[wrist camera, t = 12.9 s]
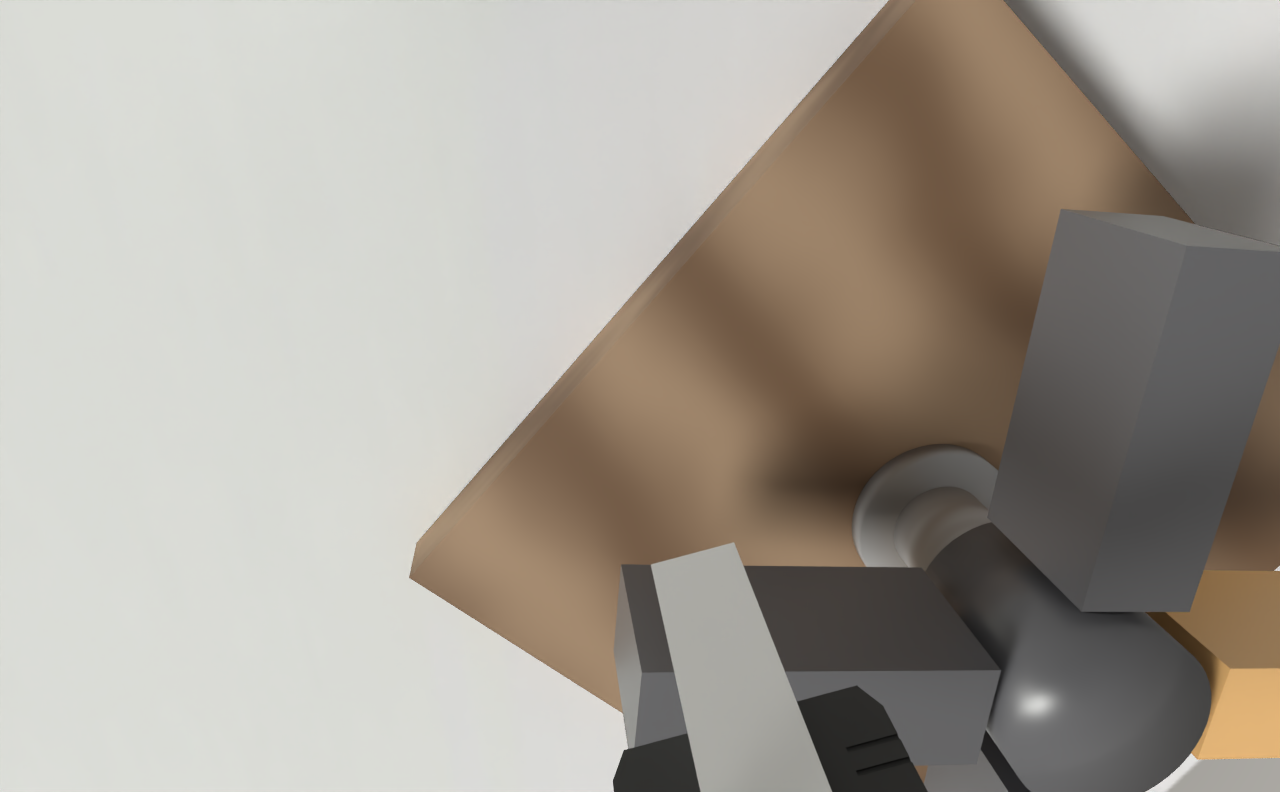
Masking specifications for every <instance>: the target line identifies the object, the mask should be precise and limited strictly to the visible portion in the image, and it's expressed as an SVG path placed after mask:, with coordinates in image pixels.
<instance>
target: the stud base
mask: <svg viewBox="0 0 1280 792" xmlns="http://www.w3.org/2000/svg"><path fill="white" fill-rule="evenodd" d="M1061 209H1070V210H1084V211H1098V212H1113V213H1127V214H1141V215H1155V216H1165V217H1169V218H1173V219H1176V220H1180V221H1184V222H1188V223H1192V224H1195V223H1194V222H1193V221H1192V220H1191V219H1190V218H1189V216H1188V215H1187V214H1186V213H1185V212H1184V211H1183V209H1182V208H1181V207H1180V206H1179V205H1178V204H1177V202H1176V201H1175V200H1174V199H1173V198H1172V197H1171V195H1170V194H1169V193H1168V192H1167V191H1166V190H1165V188H1164V187H1163V186H1162V185H1161V184H1160V183H1159V181H1158V180H1157V179H1156V178H1155V177H1154V176H1153V174H1152V173H1151V172H1150V171H1149V170H1148V168H1147V167H1146V166H1145V165H1144V164H1143V163H1142V161H1141V160H1140V159H1139V158H1138V157H1137V156H1136V154H1135V153H1134V152H1133V151H1132V150H1131V149H1130V147H1129V146H1128V145H1127V144H1126V143H1125V142H1124V140H1123V139H1122V138H1121V137H1120V136H1119V135H1118V133H1117V132H1116V131H1115V130H1114V129H1113V128H1112V126H1111V125H1110V124H1109V123H1108V122H1107V121H1106V119H1105V118H1104V117H1103V116H1102V115H1101V114H1100V112H1099V111H1098V110H1097V109H1096V108H1095V107H1094V105H1093V104H1092V103H1091V102H1090V101H1089V100H1088V98H1087V97H1086V96H1085V95H1084V94H1083V93H1082V91H1081V90H1080V89H1079V88H1078V87H1077V86H1076V84H1075V83H1074V82H1073V81H1072V80H1071V79H1070V77H1069V76H1068V75H1067V74H1066V73H1065V72H1064V70H1063V69H1062V68H1061V67H1060V66H1059V65H1058V63H1057V62H1056V61H1055V60H1054V59H1053V58H1052V56H1051V55H1050V54H1049V53H1048V52H1047V51H1046V49H1045V48H1044V47H1043V46H1042V45H1041V44H1040V42H1039V41H1038V40H1037V39H1036V38H1035V37H1034V35H1033V34H1032V33H1031V32H1030V31H1029V30H1028V28H1027V27H1026V26H1025V25H1024V24H1023V23H1022V21H1021V20H1020V19H1019V18H1018V17H1017V16H1016V14H1015V13H1014V12H1013V11H1012V10H1011V9H1010V7H1009V6H1008V5H1007V4H1006V3H1005V2H1004V0H889V1H888V2H887V3H886V5H885V6H884V7H883V8H882V9H881V10H880V11H879V13H878V14H877V15H876V16H875V17H874V18H873V19H872V21H871V22H870V23H869V24H868V25H867V26H866V28H865V29H864V30H863V31H862V32H861V33H860V34H859V36H858V37H857V38H856V39H855V40H854V41H853V42H852V44H851V45H850V46H849V47H848V48H847V49H846V51H845V52H844V53H843V54H842V55H841V56H840V57H839V59H838V60H837V61H836V62H835V63H834V64H833V65H832V67H831V68H830V69H829V70H828V71H827V72H826V73H825V75H824V76H823V77H822V78H821V79H820V80H819V82H818V83H817V84H816V85H815V86H814V87H813V88H812V90H811V91H810V92H809V93H808V94H807V95H806V96H805V98H804V99H803V100H802V101H801V102H800V103H799V104H798V106H797V107H796V108H795V109H794V110H793V111H792V113H791V114H790V115H789V116H788V117H787V118H786V119H785V121H784V122H783V123H782V124H781V125H780V126H779V127H778V129H777V130H776V131H775V132H774V133H773V134H772V135H771V137H770V138H769V139H768V140H767V141H766V142H765V144H764V145H763V146H762V147H761V148H760V149H759V150H758V152H757V153H756V154H755V155H754V156H753V157H752V158H751V160H750V161H749V162H748V163H747V164H746V165H745V167H744V168H743V169H742V170H741V171H740V172H739V173H738V175H737V176H736V177H735V178H734V179H733V180H732V181H731V183H730V184H729V185H728V186H727V187H726V188H725V189H724V191H723V192H722V193H721V194H720V195H719V196H718V198H717V199H716V200H715V201H714V202H713V203H712V204H711V206H710V207H709V208H708V209H707V210H706V211H705V212H704V214H703V215H702V216H701V217H700V218H699V219H698V220H697V222H696V223H695V224H694V225H693V226H692V227H691V229H690V230H689V231H688V232H687V233H686V234H685V235H684V237H683V238H682V239H681V240H680V241H679V242H678V243H677V245H676V246H675V247H674V248H673V249H672V250H671V252H670V253H669V254H668V255H667V256H666V257H665V258H664V260H663V261H662V262H661V263H660V264H659V265H658V266H657V268H656V269H655V270H654V271H653V272H652V273H651V274H650V276H649V277H648V278H647V279H646V280H645V281H644V283H643V284H642V285H641V286H640V287H639V288H638V289H637V291H636V292H635V293H634V294H633V295H632V296H631V297H630V299H629V300H628V301H627V302H626V303H625V304H624V305H623V307H622V308H621V309H620V310H619V311H618V312H617V314H616V315H615V316H614V317H613V318H612V319H611V320H610V322H609V323H608V324H607V325H606V326H605V327H604V328H603V330H602V331H601V332H600V333H599V334H598V335H597V336H596V338H595V339H594V340H593V341H592V342H591V343H590V345H589V346H588V347H587V348H586V349H585V350H584V351H583V353H582V354H581V355H580V356H579V357H578V358H577V359H576V361H575V362H574V363H573V364H572V365H571V366H570V368H569V369H568V370H567V371H566V372H565V373H564V374H563V376H562V377H561V378H560V379H559V380H558V381H557V382H556V384H555V385H554V386H553V387H552V388H551V389H550V390H549V392H548V393H547V394H546V395H545V396H544V397H543V399H542V400H541V401H540V402H539V403H538V404H537V405H536V407H535V408H534V409H533V410H532V411H531V412H530V413H529V415H528V416H527V417H526V418H525V419H524V420H523V421H522V423H521V424H520V425H519V426H518V427H517V428H516V430H515V431H514V432H513V433H512V434H511V435H510V436H509V438H508V439H507V440H506V441H505V442H504V443H503V444H502V446H501V447H500V448H499V449H498V450H497V451H496V453H495V454H494V455H493V456H492V457H491V458H490V459H489V461H488V462H487V463H486V464H485V465H484V466H483V467H482V469H481V470H480V471H479V472H478V473H477V474H476V475H475V477H474V478H473V479H472V480H471V481H470V482H469V484H468V485H467V486H466V487H465V488H464V489H463V490H462V492H461V493H460V494H459V495H458V496H457V497H456V498H455V500H454V501H453V502H452V503H451V504H450V505H449V506H448V508H447V509H446V510H445V511H444V512H443V513H442V515H441V516H440V517H439V518H438V519H437V520H436V521H435V523H434V524H433V525H432V526H431V527H430V528H429V529H428V531H427V532H426V533H425V534H424V535H423V536H422V537H421V539H420V540H419V541H418V542H417V544H416V548H415V553H414V558H413V562H412V567H411V572H410V576H409V578H411V579H412V580H414V581H415V582H417V583H418V584H420V585H422V586H423V587H425V588H426V589H428V590H429V591H431V592H433V593H434V594H436V595H437V596H439V597H440V598H442V599H444V600H445V601H447V602H448V603H450V604H452V605H453V606H455V607H456V608H458V609H459V610H461V611H463V612H464V613H466V614H467V615H469V616H470V617H472V618H474V619H475V620H477V621H478V622H480V623H481V624H483V625H485V626H486V627H488V628H489V629H491V630H492V631H494V632H496V633H497V634H499V635H500V636H502V637H503V638H505V639H507V640H508V641H510V642H511V643H513V644H515V645H516V646H518V647H519V648H521V649H522V650H524V651H526V652H527V653H529V654H530V655H532V656H533V657H535V658H537V659H538V660H540V661H541V662H543V663H544V664H546V665H548V666H549V667H551V668H552V669H554V670H555V671H557V672H559V673H560V674H562V675H563V676H565V677H567V678H568V679H570V680H571V681H573V682H574V683H576V684H578V685H579V686H581V687H582V688H584V689H585V690H587V691H589V692H590V693H592V694H593V695H595V696H596V697H598V698H600V699H601V700H603V701H604V702H606V703H607V704H609V705H611V706H612V707H614V708H615V709H617V710H618V711H620V712H622V713H623V710H622V704H621V697H620V690H619V684H618V677H617V671H616V664H615V657H614V640H615V628H616V616H617V605H618V593H619V582H620V570H621V564H636V565H651V564H655V563H658V562H662V561H666V560H670V559H673V558H677V557H681V556H685V555H688V554H692V553H696V552H700V551H703V550H707V549H711V548H715V547H718V546H722V545H726V544H729V543H733V542H734V543H735V546H736V549H737V551H738V554H739V556H740V559H741V561H742V564H743V566H831V567H922V569H923V570H924V571H926V569H927V568H928V566H929V565H930V563H931V562H932V561H933V559H934V558H935V557H936V556H937V555H938V554H939V552H940V551H941V550H942V549H943V548H944V547H946V546H947V545H948V544H949V543H950V542H951V541H953V540H954V539H956V538H957V537H959V536H960V535H962V534H963V533H965V532H967V531H969V530H971V529H973V528H975V527H978V526H980V525H983V524H987V523H990V522H991V521H990V520H989V519H988V518H987V516H988V512H989V508H990V504H991V500H992V495H993V491H994V487H995V483H996V479H997V475H998V470H999V466H1000V462H1001V458H1002V454H1003V449H1004V445H1005V441H1006V437H1007V433H1008V428H1009V424H1010V420H1011V416H1012V412H1013V407H1014V403H1015V399H1016V395H1017V391H1018V386H1019V382H1020V378H1021V374H1022V370H1023V365H1024V361H1025V357H1026V353H1027V349H1028V344H1029V340H1030V336H1031V332H1032V328H1033V323H1034V319H1035V315H1036V311H1037V307H1038V303H1039V298H1040V294H1041V290H1042V286H1043V282H1044V277H1045V273H1046V269H1047V265H1048V261H1049V256H1050V252H1051V248H1052V244H1053V240H1054V235H1055V231H1056V227H1057V223H1058V219H1059V214H1060V210H1061ZM1279 566H1280V345H1279V348H1278V351H1277V354H1276V357H1275V360H1274V363H1273V366H1272V369H1271V372H1270V375H1269V378H1268V381H1267V383H1266V386H1265V389H1264V392H1263V395H1262V398H1261V401H1260V404H1259V407H1258V410H1257V413H1256V416H1255V419H1254V422H1253V425H1252V428H1251V431H1250V434H1249V437H1248V440H1247V443H1246V446H1245V449H1244V452H1243V455H1242V458H1241V461H1240V464H1239V467H1238V470H1237V473H1236V476H1235V479H1234V482H1233V485H1232V488H1231V490H1230V493H1229V496H1228V499H1227V502H1226V505H1225V508H1224V511H1223V514H1222V517H1221V520H1220V523H1219V526H1218V529H1217V532H1216V535H1215V538H1214V541H1213V544H1212V547H1211V550H1210V553H1209V556H1208V559H1207V562H1206V565H1205V568H1204V570H1220V571H1274V570H1275V569H1276V568H1277V567H1279ZM915 768H916V770H917V772H918V774H919V776H920V778H921V780H922V782H923V783H924V781H925V777H926V772H927V768H928V765H923V766H915Z"/></svg>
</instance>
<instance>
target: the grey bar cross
mask: <svg viewBox="0 0 1280 792" xmlns="http://www.w3.org/2000/svg"><path fill="white" fill-rule="evenodd" d="M1279 345H1280V246H1278V245H1274V244H1270V243H1266V242H1262V241H1258V240H1255V239H1251V238H1247V237H1243V236H1239V235H1235V234H1231V233H1227V232H1223V231H1219V230H1216V229H1212V228H1208V227H1204V226H1200V225H1196V224H1192V223H1188V222H1184V221H1180V220H1176V219H1173V218H1169V217H1165V216H1155V215H1141V214H1127V213H1113V212H1098V211H1084V210H1070V209H1061V210H1060V214H1059V219H1058V223H1057V227H1056V231H1055V235H1054V240H1053V244H1052V248H1051V252H1050V256H1049V261H1048V265H1047V269H1046V273H1045V277H1044V282H1043V286H1042V290H1041V294H1040V298H1039V303H1038V307H1037V311H1036V315H1035V319H1034V323H1033V328H1032V332H1031V336H1030V340H1029V344H1028V349H1027V353H1026V357H1025V361H1024V365H1023V370H1022V374H1021V378H1020V382H1019V386H1018V391H1017V395H1016V399H1015V403H1014V407H1013V412H1012V416H1011V420H1010V424H1009V428H1008V433H1007V437H1006V441H1005V445H1004V449H1003V454H1002V458H1001V462H1000V466H999V470H998V475H997V479H996V483H995V487H994V491H993V495H992V500H991V504H990V508H989V512H988V516H987V518H988V519H989V520H990V521H991V522H990V523H987V524H983V525H980V526H978V527H975V528H973V529H971V530H969V531H967V532H965V533H963V534H962V535H960V536H959V537H957V538H956V539H954V540H953V541H951V542H950V543H949V544H948V545H947V546H946V547H944V548H943V549H942V550H941V551H940V552H939V554H938V555H937V556H936V557H935V558H934V559H933V561H932V562H931V563H930V565H929V566H928V568H927V569H926V571H924V570H923V569H922V567H831V566H744V569H745V571H746V574H747V577H748V579H749V582H750V584H751V587H752V589H753V592H754V594H755V597H756V599H757V602H758V605H759V607H760V610H761V612H762V615H763V617H764V620H765V622H766V625H767V627H768V630H769V633H770V635H771V638H772V640H773V643H774V645H775V648H776V650H777V653H778V655H779V658H780V661H781V663H782V666H783V668H784V671H785V673H786V676H787V678H788V681H789V683H790V686H791V688H792V691H793V694H794V696H795V699H796V701H800V700H804V699H808V698H812V697H815V696H819V695H823V694H826V693H830V692H834V691H838V690H841V689H845V688H849V687H852V686H856V685H857V686H858V687H860V688H861V689H862V690H864V691H865V692H866V693H867V694H869V695H870V696H871V697H873V698H874V699H875V700H876V701H878V702H879V703H880V704H882V705H883V706H884V708H885V710H886V712H887V714H888V716H889V718H890V720H891V722H892V724H893V726H894V728H895V730H896V732H897V733H898V737H899V739H901V741H902V743H903V745H904V747H905V749H906V751H907V753H908V755H909V757H910V760H911V762H913V764H914V766H923V765H928V768H927V772H926V777H925V781H924V785H925V787H926V789H927V791H928V792H1145V791H1147V790H1149V789H1151V788H1152V787H1154V786H1155V785H1157V784H1159V783H1160V782H1161V781H1163V780H1164V779H1165V778H1167V777H1168V776H1169V775H1170V774H1171V773H1173V772H1174V771H1175V770H1176V769H1177V768H1178V767H1179V766H1180V765H1181V764H1182V763H1183V762H1184V761H1185V759H1186V758H1187V757H1188V756H1189V755H1190V753H1192V754H1193V755H1194V756H1195V757H1196V758H1197V759H1242V758H1280V571H1220V570H1204V568H1205V565H1206V562H1207V559H1208V556H1209V553H1210V550H1211V547H1212V544H1213V541H1214V538H1215V535H1216V532H1217V529H1218V526H1219V523H1220V520H1221V517H1222V514H1223V511H1224V508H1225V505H1226V502H1227V499H1228V496H1229V493H1230V490H1231V488H1232V485H1233V482H1234V479H1235V476H1236V473H1237V470H1238V467H1239V464H1240V461H1241V458H1242V455H1243V452H1244V449H1245V446H1246V443H1247V440H1248V437H1249V434H1250V431H1251V428H1252V425H1253V422H1254V419H1255V416H1256V413H1257V410H1258V407H1259V404H1260V401H1261V398H1262V395H1263V392H1264V389H1265V386H1266V383H1267V381H1268V378H1269V375H1270V372H1271V369H1272V366H1273V363H1274V360H1275V357H1276V354H1277V351H1278V348H1279ZM614 657H615V664H616V671H617V677H618V684H619V690H620V697H621V704H622V710H623V717H624V723H625V730H626V736H627V743H628V749H630V748H634V747H638V746H642V745H645V744H649V743H653V742H656V741H660V740H664V739H668V738H671V737H675V736H679V735H683V734H686V733H688V732H687V728H686V723H685V719H684V714H683V710H682V705H681V700H680V696H679V691H678V687H677V682H676V678H675V673H674V668H673V664H672V659H671V655H670V650H669V646H668V641H667V637H666V632H665V627H664V623H663V618H662V614H661V609H660V605H659V600H658V596H657V591H656V586H655V582H654V577H653V573H652V568H651V565H636V564H621V570H620V582H619V593H618V605H617V616H616V628H615V640H614Z"/></svg>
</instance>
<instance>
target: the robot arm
mask: <svg viewBox="0 0 1280 792" xmlns="http://www.w3.org/2000/svg"><path fill="white" fill-rule="evenodd" d="M651 568H652V573H653V577H654V582H655V586H656V591H657V596H658V600H659V605H660V609H661V614H662V618H663V623H664V627H665V632H666V637H667V641H668V646H669V650H670V655H671V659H672V664H673V668H674V673H675V678H676V682H677V687H678V691H679V696H680V700H681V705H682V710H683V714H684V719H685V723H686V728H687V732H688V733H686V734H683V735H679V736H675V737H671V738H668V739H664V740H660V741H656V742H653V743H649V744H645V745H642V746H638V747H634V748H630V749H627V750H624V751H623V754H622V757H621V760H620V763H619V765H618V768H617V771H616V774H615V777H614V779H613V786H614V792H928V791H927V789H926V787H925V785H924V783H923V782H922V780H921V778H920V776H919V774H918V772H917V770H916V768H915V766H914V764H913V762H911V760H910V757H909V755H908V753H907V751H906V749H905V747H904V745H903V743H902V741H901V739H899V737H898V733H897V732H896V730H895V728H894V726H893V724H892V722H891V720H890V718H889V716H888V714H887V712H886V710H885V708H884V706H883V705H882V704H880V703H879V702H878V701H876V700H875V699H874V698H873V697H871V696H870V695H869V694H867V693H866V692H865V691H864V690H862V689H861V688H860V687H858V686H857V685H856V686H852V687H849V688H845V689H841V690H838V691H834V692H830V693H826V694H823V695H819V696H815V697H812V698H808V699H804V700H800V701H796V699H795V696H794V694H793V691H792V688H791V686H790V683H789V681H788V678H787V676H786V673H785V671H784V668H783V666H782V663H781V661H780V658H779V655H778V653H777V650H776V648H775V645H774V643H773V640H772V638H771V635H770V633H769V630H768V627H767V625H766V622H765V620H764V617H763V615H762V612H761V610H760V607H759V605H758V602H757V599H756V597H755V594H754V592H753V589H752V587H751V584H750V582H749V579H748V577H747V574H746V571H745V569H744V566H743V564H742V561H741V559H740V556H739V554H738V551H737V549H736V546H735V543H734V542H733V543H729V544H726V545H722V546H718V547H715V548H711V549H707V550H703V551H700V552H696V553H692V554H688V555H685V556H681V557H677V558H673V559H670V560H666V561H662V562H658V563H655V564H651Z"/></svg>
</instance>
